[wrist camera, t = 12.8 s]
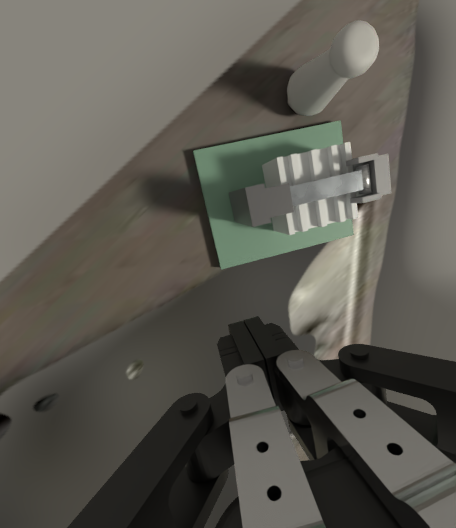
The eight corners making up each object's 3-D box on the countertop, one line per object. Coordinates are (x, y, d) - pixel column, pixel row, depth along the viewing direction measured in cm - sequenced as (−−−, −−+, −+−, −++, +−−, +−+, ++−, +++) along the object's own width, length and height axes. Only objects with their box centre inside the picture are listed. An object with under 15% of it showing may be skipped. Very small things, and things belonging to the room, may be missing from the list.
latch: (266, 214, 38) (294, 216, 29) (234, 222, 38) (252, 227, 29) (261, 185, 37) (288, 177, 28) (228, 192, 37) (245, 187, 28)
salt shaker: (314, 67, 37) (383, -5, 24) (326, 111, 38) (398, 64, 26) (274, 83, 36) (324, 18, 24) (289, 127, 38) (343, 87, 25)
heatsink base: (350, 233, 43) (396, 241, 33) (220, 267, 40) (232, 285, 31) (337, 122, 39) (385, 96, 30) (192, 152, 36) (197, 134, 27)
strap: (366, 192, 34) (374, 191, 32) (267, 216, 32) (270, 216, 31) (363, 164, 33) (371, 163, 31) (261, 188, 31) (265, 187, 30)
